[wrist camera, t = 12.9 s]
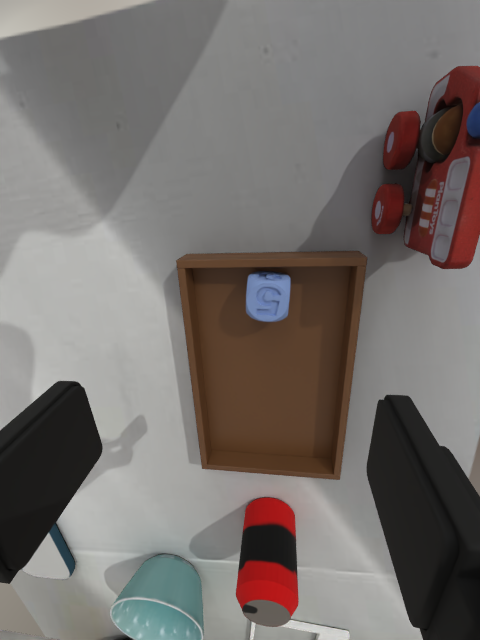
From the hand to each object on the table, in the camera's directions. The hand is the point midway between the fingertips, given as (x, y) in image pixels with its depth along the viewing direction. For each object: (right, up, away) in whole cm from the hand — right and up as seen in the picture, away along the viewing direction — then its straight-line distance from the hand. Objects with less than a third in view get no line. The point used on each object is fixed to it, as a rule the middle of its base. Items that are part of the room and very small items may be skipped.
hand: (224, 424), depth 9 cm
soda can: (+5, -26, +36) cm, 45 cm away
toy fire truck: (+16, +16, +17) cm, 28 cm away
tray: (+4, -2, +26) cm, 27 cm away
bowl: (-12, -43, +46) cm, 64 cm away
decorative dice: (+4, +7, +22) cm, 23 cm away
